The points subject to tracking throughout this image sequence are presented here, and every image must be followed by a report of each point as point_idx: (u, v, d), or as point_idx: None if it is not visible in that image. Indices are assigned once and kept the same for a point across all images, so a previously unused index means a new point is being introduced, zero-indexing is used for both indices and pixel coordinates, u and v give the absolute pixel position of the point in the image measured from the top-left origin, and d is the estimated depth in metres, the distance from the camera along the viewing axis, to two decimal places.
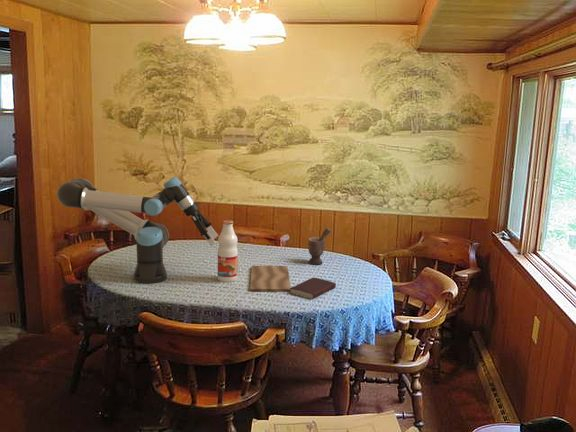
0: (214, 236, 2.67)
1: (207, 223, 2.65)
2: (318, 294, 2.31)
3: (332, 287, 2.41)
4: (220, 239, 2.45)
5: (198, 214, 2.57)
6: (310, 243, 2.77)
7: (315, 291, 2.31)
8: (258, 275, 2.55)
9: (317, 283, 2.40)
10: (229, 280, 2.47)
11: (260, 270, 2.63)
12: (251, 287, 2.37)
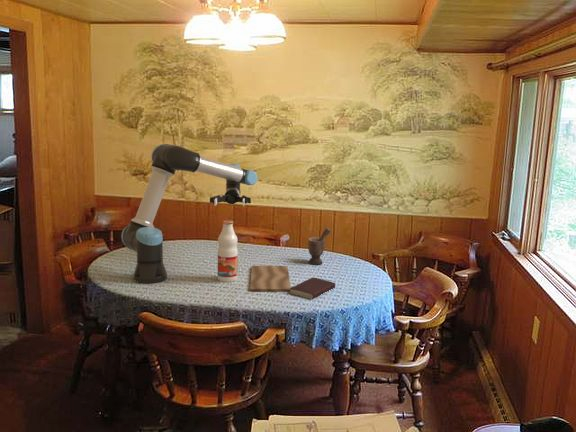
0: (216, 202, 2.58)
1: (218, 201, 2.65)
2: (318, 294, 2.31)
3: (332, 287, 2.41)
4: (220, 239, 2.45)
5: None
6: (310, 243, 2.77)
7: (315, 291, 2.31)
8: (258, 275, 2.55)
9: (317, 283, 2.40)
10: (229, 280, 2.47)
11: (260, 270, 2.63)
12: (251, 287, 2.37)
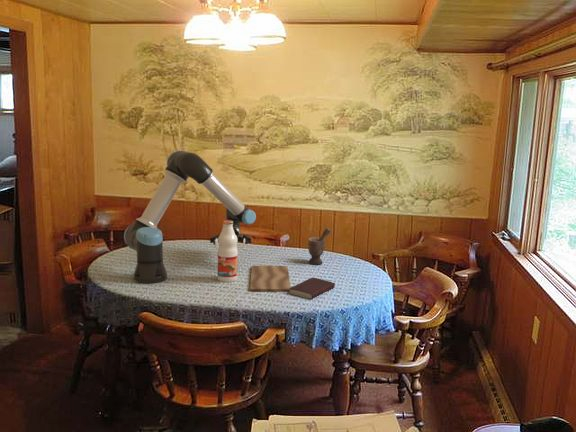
0: (216, 243, 2.57)
1: None
2: (317, 294, 2.31)
3: (331, 287, 2.41)
4: (220, 239, 2.45)
5: None
6: (310, 243, 2.77)
7: (314, 291, 2.30)
8: (258, 275, 2.55)
9: (316, 283, 2.40)
10: (229, 280, 2.47)
11: (260, 270, 2.63)
12: (251, 287, 2.37)
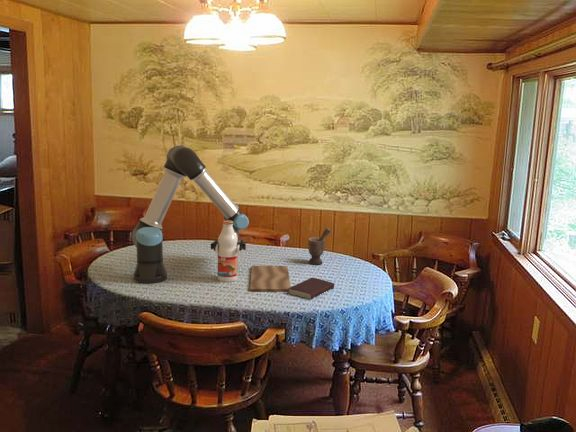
0: (217, 249, 2.45)
1: None
2: (316, 294, 2.31)
3: (330, 287, 2.40)
4: (220, 239, 2.45)
5: None
6: (310, 243, 2.77)
7: (313, 291, 2.30)
8: (258, 275, 2.55)
9: (315, 283, 2.40)
10: (229, 280, 2.47)
11: (260, 270, 2.63)
12: (251, 287, 2.37)
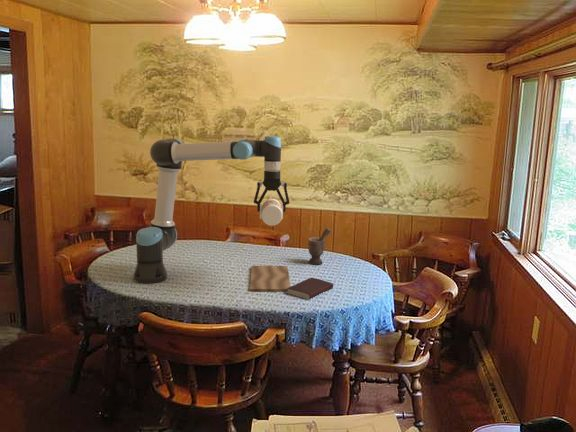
0: None
1: (281, 200, 2.46)
2: (315, 294, 2.30)
3: (329, 287, 2.40)
4: None
5: (268, 183, 2.43)
6: (310, 243, 2.77)
7: (312, 291, 2.30)
8: (258, 275, 2.55)
9: (314, 283, 2.40)
10: (269, 225, 2.34)
11: (260, 270, 2.63)
12: (251, 287, 2.37)
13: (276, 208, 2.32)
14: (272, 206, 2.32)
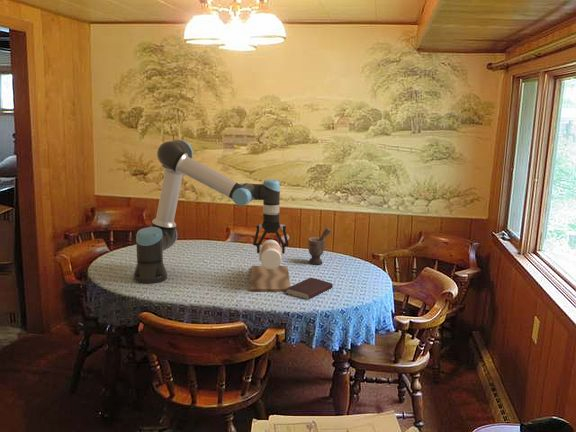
0: None
1: (280, 242, 2.49)
2: (314, 294, 2.30)
3: (329, 287, 2.40)
4: None
5: (267, 226, 2.47)
6: (310, 243, 2.77)
7: (311, 291, 2.30)
8: (258, 275, 2.55)
9: (314, 283, 2.40)
10: (268, 268, 2.38)
11: (260, 270, 2.63)
12: (251, 287, 2.37)
13: (275, 252, 2.36)
14: (271, 250, 2.36)
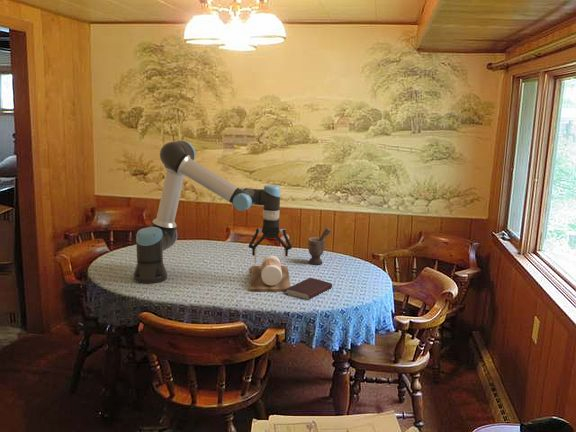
0: (283, 260, 2.52)
1: (283, 246, 2.50)
2: (314, 295, 2.30)
3: (328, 287, 2.40)
4: None
5: (267, 231, 2.47)
6: (310, 243, 2.77)
7: (311, 292, 2.30)
8: (258, 275, 2.55)
9: (313, 283, 2.40)
10: (267, 284, 2.40)
11: (260, 270, 2.63)
12: (251, 287, 2.37)
13: (276, 269, 2.38)
14: (273, 267, 2.37)
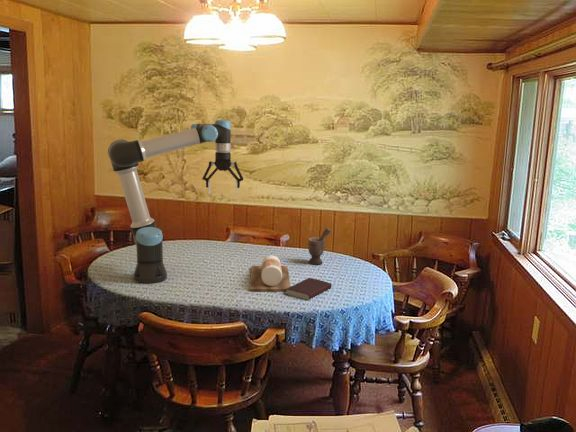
0: None
1: None
2: (314, 295, 2.30)
3: (328, 287, 2.40)
4: None
5: (219, 164, 2.63)
6: (310, 243, 2.77)
7: (311, 292, 2.30)
8: (258, 275, 2.55)
9: (313, 284, 2.40)
10: None
11: (260, 270, 2.63)
12: (251, 287, 2.37)
13: (277, 270, 2.38)
14: (273, 267, 2.37)
